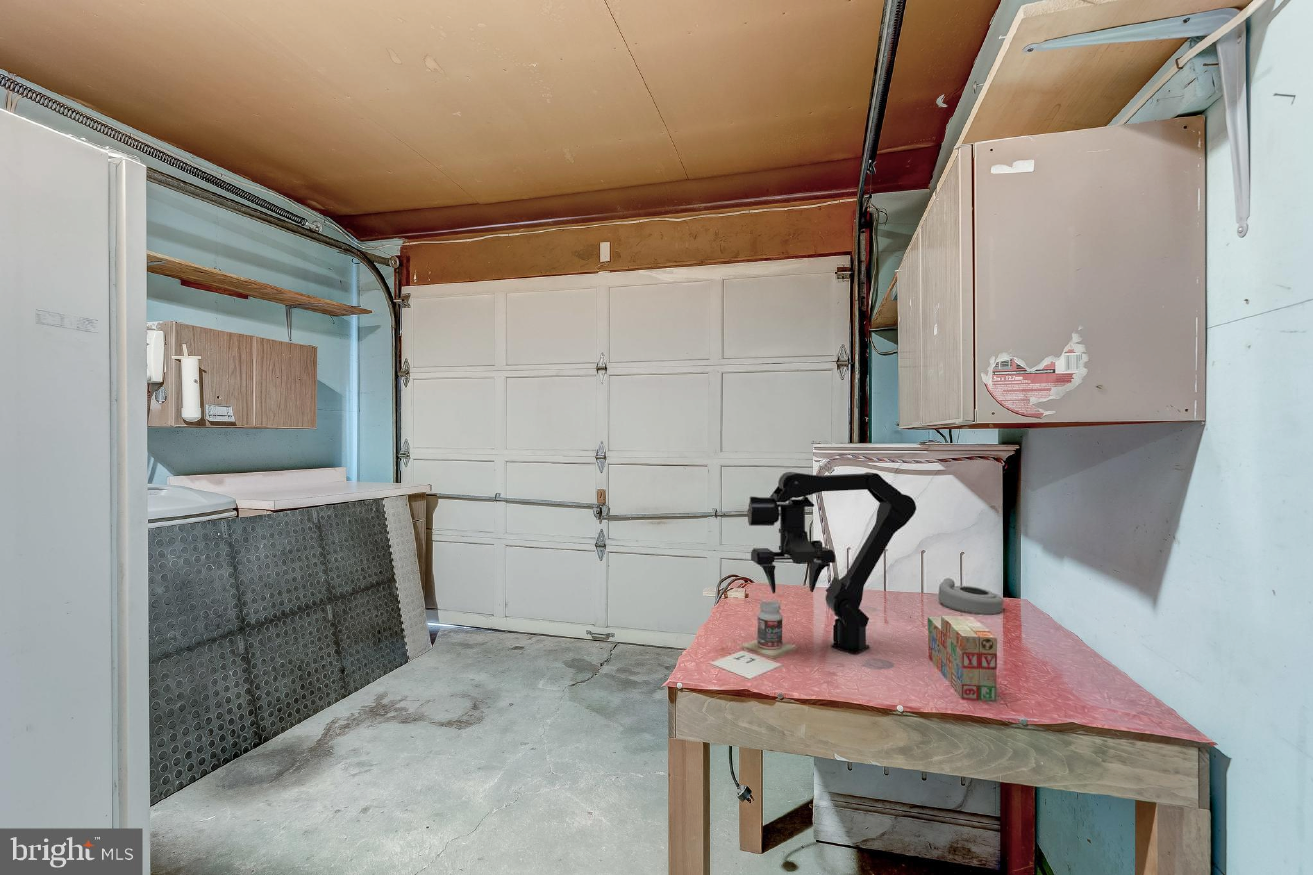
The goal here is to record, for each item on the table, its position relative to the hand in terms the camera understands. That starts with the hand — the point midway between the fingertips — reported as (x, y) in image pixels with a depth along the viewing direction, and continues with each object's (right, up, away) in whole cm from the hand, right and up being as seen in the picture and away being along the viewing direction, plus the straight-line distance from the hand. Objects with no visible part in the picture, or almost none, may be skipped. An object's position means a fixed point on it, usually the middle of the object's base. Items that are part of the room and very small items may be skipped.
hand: (792, 592), depth 134 cm
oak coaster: (-6, -13, 0) cm, 14 cm away
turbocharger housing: (+59, -14, +33) cm, 69 cm away
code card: (-12, -13, -10) cm, 21 cm away
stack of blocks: (+30, -13, -17) cm, 37 cm away
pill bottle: (-5, -13, 0) cm, 14 cm away
